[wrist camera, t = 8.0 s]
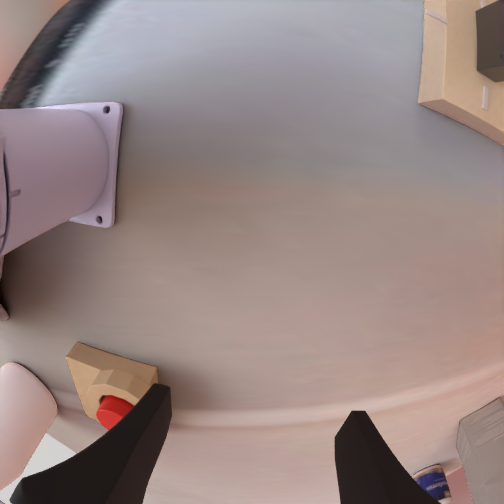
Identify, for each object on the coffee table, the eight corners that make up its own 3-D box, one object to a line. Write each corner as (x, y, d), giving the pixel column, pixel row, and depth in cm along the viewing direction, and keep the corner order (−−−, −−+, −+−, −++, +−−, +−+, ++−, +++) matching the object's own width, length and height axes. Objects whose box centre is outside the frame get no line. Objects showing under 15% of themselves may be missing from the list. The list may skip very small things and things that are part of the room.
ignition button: (107, 414, 20) (100, 428, 19) (100, 389, 19) (91, 404, 17) (145, 427, 20) (139, 442, 19) (141, 403, 19) (134, 419, 17)
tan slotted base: (397, 95, 14) (421, 88, 11) (405, -27, 10) (423, -47, 7) (519, 156, 14) (547, 162, 11) (523, 45, 10) (547, 40, 7)
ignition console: (94, 402, 25) (79, 428, 22) (75, 335, 22) (52, 362, 18) (173, 427, 25) (164, 458, 22) (171, 364, 22) (157, 400, 18)
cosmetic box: (491, 424, 25) (525, 505, 10) (449, 448, 26) (477, 535, 12) (501, 393, 22) (548, 486, 8) (454, 420, 24) (493, 525, 9)
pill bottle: (447, 460, 28) (463, 509, 19) (430, 477, 30) (442, 522, 21) (419, 467, 28) (432, 520, 19) (401, 483, 30) (412, 532, 21)
